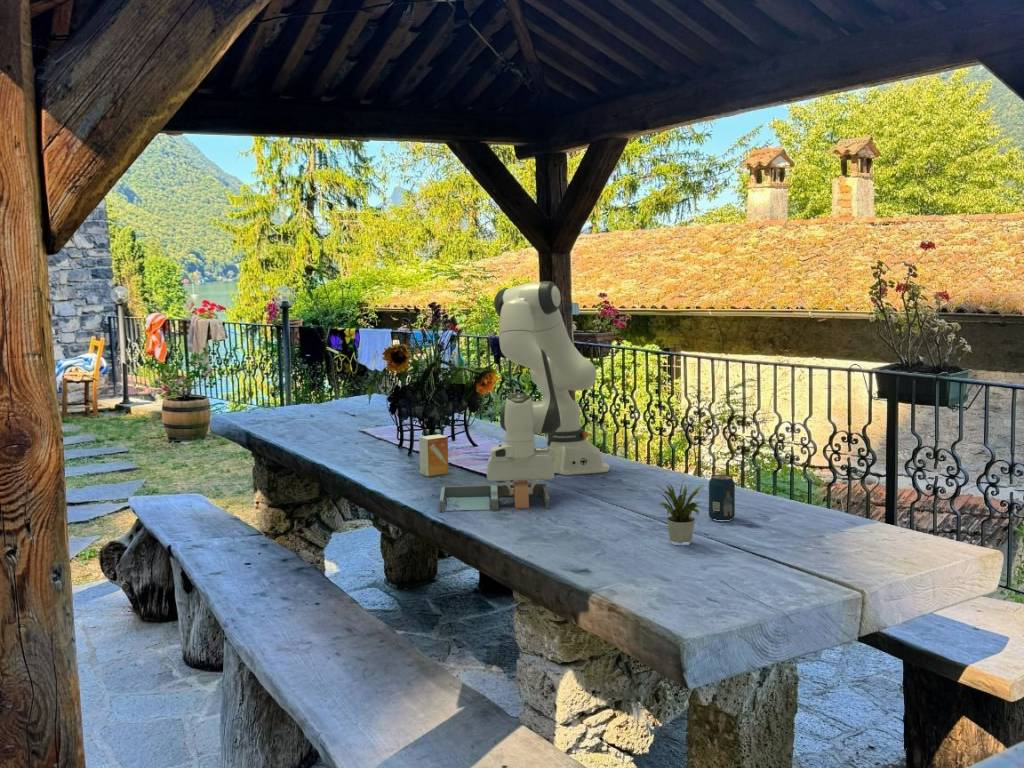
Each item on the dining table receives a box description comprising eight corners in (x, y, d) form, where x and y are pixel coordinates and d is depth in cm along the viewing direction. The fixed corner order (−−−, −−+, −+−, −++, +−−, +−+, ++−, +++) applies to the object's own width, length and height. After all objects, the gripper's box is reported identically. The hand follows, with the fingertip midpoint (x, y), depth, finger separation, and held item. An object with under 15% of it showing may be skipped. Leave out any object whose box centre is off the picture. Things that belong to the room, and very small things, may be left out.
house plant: (641, 548, 230) (641, 484, 228) (653, 533, 243) (653, 472, 241) (699, 553, 225) (699, 488, 223) (708, 537, 238) (708, 475, 236)
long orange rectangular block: (526, 497, 283) (526, 478, 283) (528, 507, 271) (528, 487, 271) (513, 497, 283) (513, 478, 282) (515, 508, 271) (514, 488, 271)
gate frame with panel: (545, 494, 286) (545, 483, 286) (549, 508, 270) (549, 496, 269) (442, 497, 285) (441, 486, 285) (439, 512, 269) (439, 500, 268)
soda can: (715, 514, 259) (716, 472, 258) (738, 518, 255) (739, 475, 253) (704, 520, 254) (704, 477, 252) (727, 524, 249) (727, 480, 248)
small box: (428, 477, 314) (427, 439, 313) (419, 473, 319) (418, 436, 318) (449, 473, 319) (448, 436, 317) (440, 470, 324) (439, 433, 322)
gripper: (553, 445, 279) (554, 490, 280) (486, 447, 278) (487, 492, 280) (555, 449, 272) (556, 495, 274) (486, 452, 272) (487, 498, 273)
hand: (521, 494), depth 277 cm, fingers closed on long orange rectangular block, 4 cm apart
